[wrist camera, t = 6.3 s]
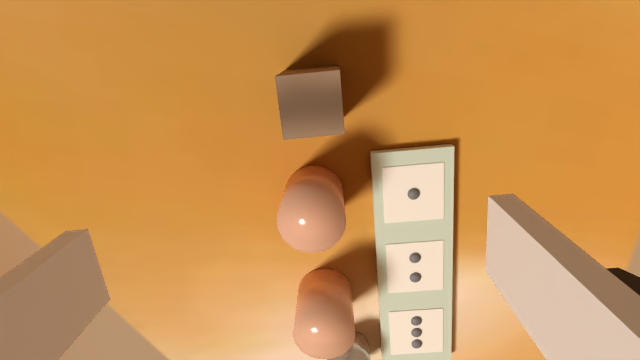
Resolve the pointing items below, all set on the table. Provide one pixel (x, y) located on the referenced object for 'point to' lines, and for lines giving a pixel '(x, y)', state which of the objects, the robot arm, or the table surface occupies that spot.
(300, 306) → the pink capsule pill
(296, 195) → the peach capsule
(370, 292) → the table surface
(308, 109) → the walnut block
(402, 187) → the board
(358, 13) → the table surface
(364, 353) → the tin
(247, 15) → the table surface
